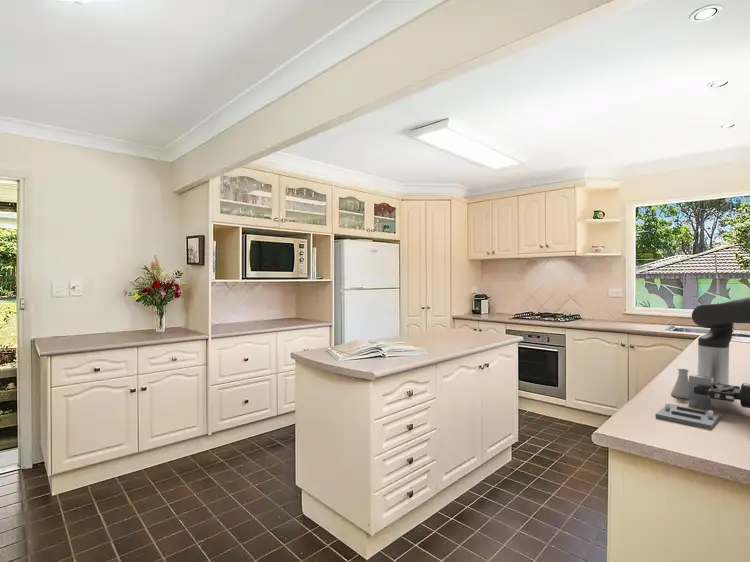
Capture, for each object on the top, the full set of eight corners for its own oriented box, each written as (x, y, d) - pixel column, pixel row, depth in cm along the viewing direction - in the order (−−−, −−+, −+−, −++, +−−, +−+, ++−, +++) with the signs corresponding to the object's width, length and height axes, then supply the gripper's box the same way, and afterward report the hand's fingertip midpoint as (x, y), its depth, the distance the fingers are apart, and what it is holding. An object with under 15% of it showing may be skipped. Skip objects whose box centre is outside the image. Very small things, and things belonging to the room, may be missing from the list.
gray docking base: (655, 417, 130) (655, 407, 130) (668, 407, 141) (669, 397, 141) (711, 429, 120) (711, 418, 120) (721, 417, 131) (721, 406, 131)
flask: (699, 400, 150) (699, 371, 150) (676, 398, 151) (676, 370, 151) (688, 394, 157) (689, 367, 157) (666, 393, 158) (667, 366, 158)
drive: (688, 405, 143) (688, 375, 143) (690, 403, 146) (691, 374, 146) (710, 409, 139) (711, 379, 139) (712, 407, 141) (713, 377, 141)
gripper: (764, 382, 136) (701, 373, 148) (759, 389, 126) (692, 380, 138) (763, 405, 136) (700, 394, 148) (758, 415, 126) (691, 402, 138)
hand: (696, 387), depth 143 cm, fingers open, 8 cm apart
